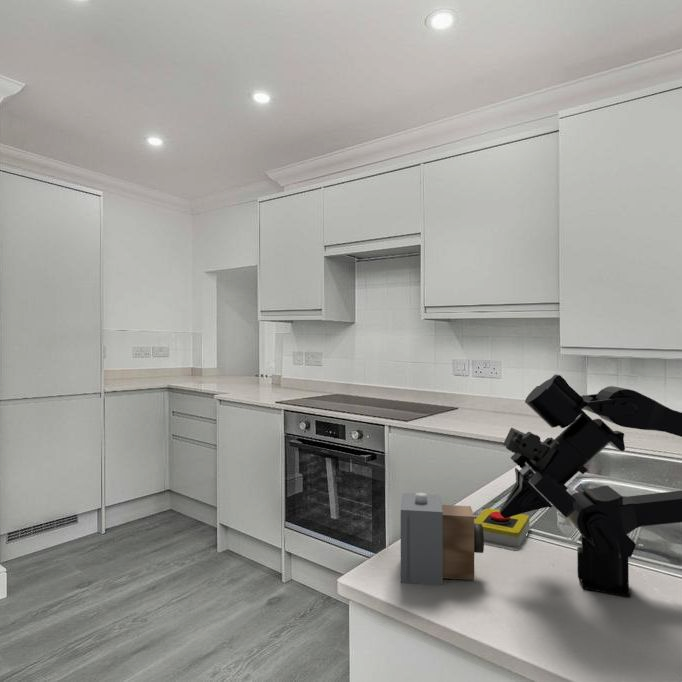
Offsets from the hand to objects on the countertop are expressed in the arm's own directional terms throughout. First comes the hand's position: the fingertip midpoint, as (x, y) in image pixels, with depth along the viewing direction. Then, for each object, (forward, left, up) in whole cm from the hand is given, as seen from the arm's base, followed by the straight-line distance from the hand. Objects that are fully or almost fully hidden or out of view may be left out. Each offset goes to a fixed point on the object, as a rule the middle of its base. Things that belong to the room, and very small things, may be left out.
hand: (501, 515), depth 77 cm
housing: (+12, +3, -10) cm, 16 cm away
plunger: (+6, +2, -10) cm, 12 cm away
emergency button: (+2, -19, -11) cm, 22 cm away
